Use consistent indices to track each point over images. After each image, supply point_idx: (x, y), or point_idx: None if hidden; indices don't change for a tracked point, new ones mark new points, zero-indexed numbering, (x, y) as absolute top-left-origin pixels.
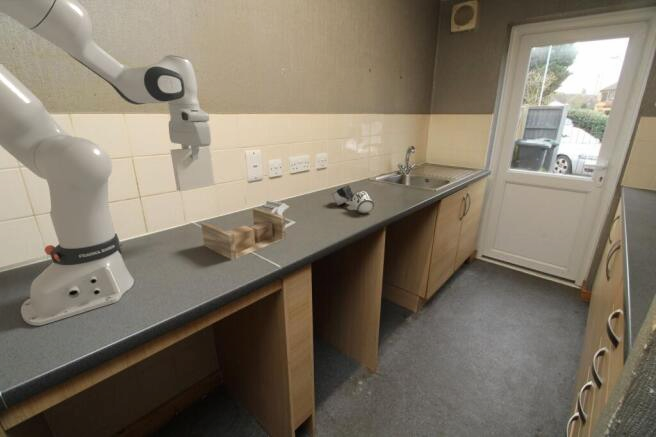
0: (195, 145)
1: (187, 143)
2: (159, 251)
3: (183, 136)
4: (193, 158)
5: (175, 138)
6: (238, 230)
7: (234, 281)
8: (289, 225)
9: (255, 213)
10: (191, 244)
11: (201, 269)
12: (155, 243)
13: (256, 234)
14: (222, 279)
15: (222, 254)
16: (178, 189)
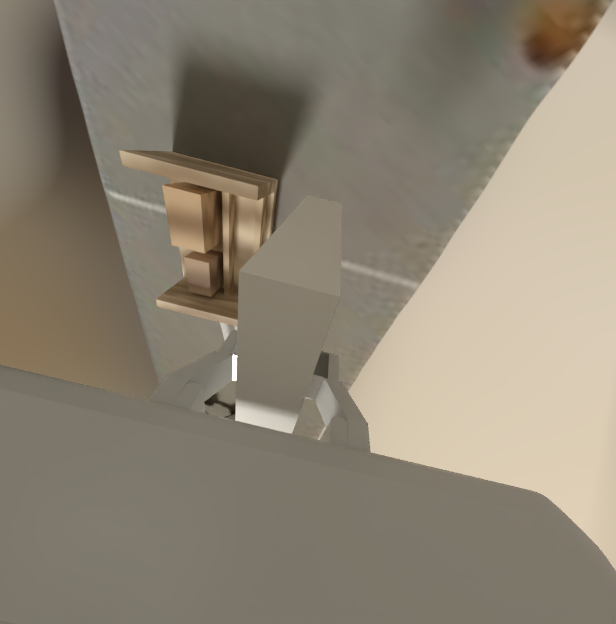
0: (24, 376)
1: (179, 423)
2: (371, 104)
3: (212, 543)
4: (231, 333)
5: (460, 540)
6: (186, 221)
7: (99, 84)
8: (223, 328)
9: None
10: (329, 187)
11: (196, 86)
12: (424, 140)
13: (194, 253)
14: (122, 75)
15: (200, 160)
16: (325, 200)
